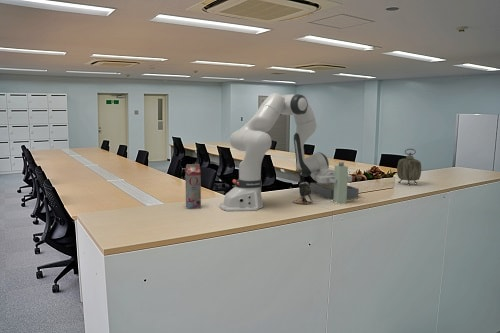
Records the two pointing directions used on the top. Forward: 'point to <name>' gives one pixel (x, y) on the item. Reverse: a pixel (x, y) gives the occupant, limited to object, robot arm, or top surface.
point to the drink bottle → (340, 183)
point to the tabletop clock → (409, 168)
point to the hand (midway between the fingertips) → (341, 181)
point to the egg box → (326, 186)
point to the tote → (329, 194)
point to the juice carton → (193, 186)
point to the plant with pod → (303, 190)
